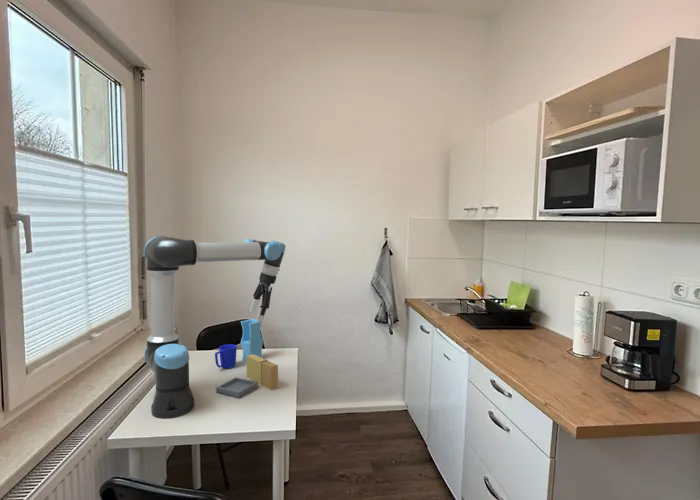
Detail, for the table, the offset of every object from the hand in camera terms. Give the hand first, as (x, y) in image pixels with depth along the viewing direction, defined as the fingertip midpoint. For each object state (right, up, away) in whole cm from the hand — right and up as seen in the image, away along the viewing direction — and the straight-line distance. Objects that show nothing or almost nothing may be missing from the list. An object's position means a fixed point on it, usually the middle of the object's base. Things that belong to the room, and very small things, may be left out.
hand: (255, 316), depth 195 cm
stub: (+10, -27, -17) cm, 34 cm away
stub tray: (-3, -27, -21) cm, 35 cm away
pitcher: (-6, -25, +17) cm, 31 cm away
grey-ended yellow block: (+3, -27, -10) cm, 28 cm away
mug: (-16, -26, +5) cm, 31 cm away
